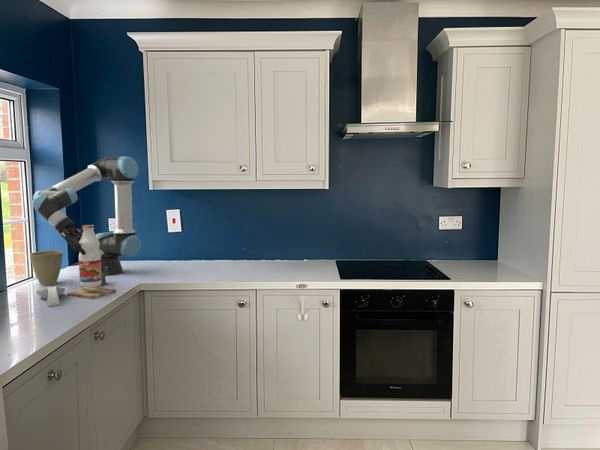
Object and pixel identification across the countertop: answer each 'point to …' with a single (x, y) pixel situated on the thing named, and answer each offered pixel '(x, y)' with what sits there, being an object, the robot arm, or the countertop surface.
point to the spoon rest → (51, 294)
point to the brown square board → (91, 292)
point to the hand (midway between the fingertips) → (96, 257)
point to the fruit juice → (92, 268)
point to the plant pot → (47, 266)
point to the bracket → (104, 276)
